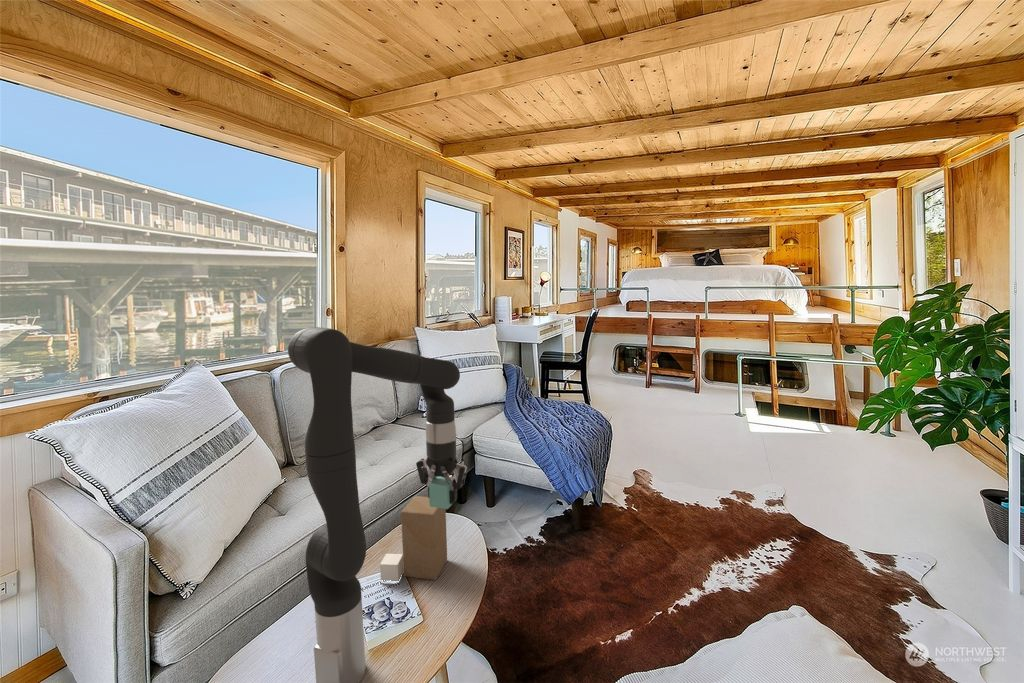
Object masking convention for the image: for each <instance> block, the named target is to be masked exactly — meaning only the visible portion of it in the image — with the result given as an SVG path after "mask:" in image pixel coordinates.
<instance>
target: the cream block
mask: <svg viewBox="0 0 1024 683" xmlns="http://www.w3.org/2000/svg"><path fill="white" fill-rule="evenodd" d="M379 570H380V573H379V574H380V581H381V580H391V581H399V579H400V577H401V575H402V574H403V573H404V567H403V553H385V554H384V557H383V558H382V560H381V562H380V563H379ZM403 575H404V574H403Z"/></svg>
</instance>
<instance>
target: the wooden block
mask: <svg viewBox="0 0 1024 683" xmlns="http://www.w3.org/2000/svg"><path fill="white" fill-rule="evenodd" d="M446 510H447V509H442V508H436V507H430V501H429V497H428V496H418V495H415V496H413V498H412V499H411V501H409V502H408V504H407V505H406V506H405V507H404V508H403V509H402V510H401V511H400V515H401V516H400V517H401V518H400V519H401V540H402V541H401V542H402V554H403V568H404V574H403V576H404V577H408V578H416V579H424V580H430V581H436V580H437V579H438V577H439V575H440V573H441V571H442V570H443V568H444V567H445V564H446V562H447V561H448V542H447V541H448V540H447V539H448V538H447V511H446Z"/></svg>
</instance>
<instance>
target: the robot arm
mask: <svg viewBox="0 0 1024 683" xmlns="http://www.w3.org/2000/svg"><path fill="white" fill-rule="evenodd" d="M287 354H288V357H289V360H290V361H291V363H292V364H293V365H294V367H296V368H297V369H299V370H300V371H303V372H305V373H308V374H309V375H310V379H311V380H310V381H311V385H312V394H313V395H312V396H313V408H312V415H311V418H310V421H309V423H308V426H307V431H306V434H305V438H304V454H305V466H306V467H305V468H306V473H307V478H308V481H309V484H310V487H311V489H312V491H313V493H314V496H315V497H316V500H317V501H318V504H319V506H320V509H321V510H322V513H323V515H324V519H325V522H326V524H324V525H322V526H319V527H318V528H317V529H316V530H315V531H314V532H313V533H312V535H311V536H310V538H309V540H308V543H307V546H306V551H305V568H306V577H307V582H308V583H307V585H308V592H309V595H310V597H311V599H312V602H313V605H314V614H315V615H314V617H315V630H316V643H317V644H316V645H315V646H314V647H313V656H314V668H315V669H314V670H315V683H360V682H361V681H362V679H363V678H364V676H365V674H366V667H367V666H366V652H365V637H364V636H365V635H364V618H363V616H364V615H363V600H362V598H363V596H362V586H361V583H360V580H359V579H358V578H357V577H356V576H357V575H358V574H359V572H360V571H361V569H362V567H363V565H364V563H365V560H366V557H367V556H366V555H367V540H366V533H365V529H364V524H363V520H362V513H361V507H360V498H359V487H358V477H357V455H356V444H355V435H354V424H353V423H354V422H353V407H352V379H353V378H352V374H353V373H357V374H362V375H365V376H371V377H373V378H374V377H375V378H379V379H383V380H388V381H392V382H393V381H394V382H399V383H406V384H414V385H416V384H417V385H420V389H421V393H422V396H423V400H424V403H425V406H426V407H425V408H426V409H425V412H426V414H425V415H426V416H425V418H426V424H425V439H426V440H425V445H426V448H425V449H426V459H424V458H421V459H420V460H418V461H417V462H416V463H415V465H416V468H417V473H418V477H419V480H420V484H421V485H425V486H427V497H429V484H430V483H431V482H433V480H434V479H437V477H439V476H441V477H443V478H445V480H446V482H447V483H448V484H449V488H450V490H449V499H450V504H452V505H453V504H454V503H455V502H457V499H458V490H461V488H462V487H463V486H465V484H466V483H465V482H466V477H467V473H468V472H467V471H468V468H469V466H468V463H467V464H466V463H464V464H462V463H459V462H458V460H457V433H456V432H457V430H456V427H457V426H456V422H455V402H454V399H453V398H452V397H451V396H449V395H448V394H446V391H445V390H450V389H452V388H454V387H455V386H456V385H457V384H458V383H459V381H460V377H461V373H460V369H459V368H458V366H457V364H455V363H454V362H453V361H451V360H450V361H449V360H446V359H439V358H432V357H426V356H422V355H419V354H416V353H413V352H407V351H403V350H397V349H392V348H386V347H378V346H372V345H365V344H360V343H356V342H352V341H350V340H349V338H348V337H347V336H346V334H345V333H343V332H342V331H341V330H338V329H334V328H329V327H318V326H313V327H308V328H303V329H301V330H299V331H297V332H296V333H295V334H294V335H293V336H292V337H291V339H290V341H289V342H288V346H287ZM427 467H428V468H427ZM428 469H429V470H430V471H428ZM456 469H457V470H456ZM455 470H456V471H457V474H458V475H456V472H455Z"/></svg>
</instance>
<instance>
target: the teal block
mask: <svg viewBox="0 0 1024 683" xmlns="http://www.w3.org/2000/svg"><path fill="white" fill-rule="evenodd" d="M449 490H450V488H449V484H448V483H447V482H446V480H445V478H443V477H441V476H439V477H437V479H434V480H433V482H431V483H430V484H429V501H430V507H436V508H442V509H446V510H449V508H450V507H452V506H453V504H450V499H449Z"/></svg>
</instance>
